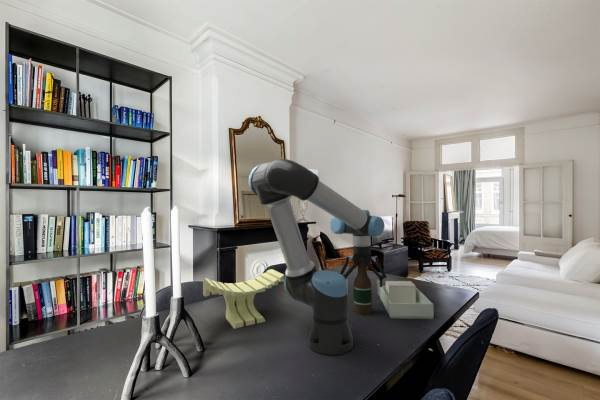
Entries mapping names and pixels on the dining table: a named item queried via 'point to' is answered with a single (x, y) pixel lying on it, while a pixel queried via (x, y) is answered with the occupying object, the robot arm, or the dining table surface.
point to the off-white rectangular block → (401, 291)
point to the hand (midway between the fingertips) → (362, 294)
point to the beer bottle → (362, 291)
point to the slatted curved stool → (242, 297)
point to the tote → (408, 307)
